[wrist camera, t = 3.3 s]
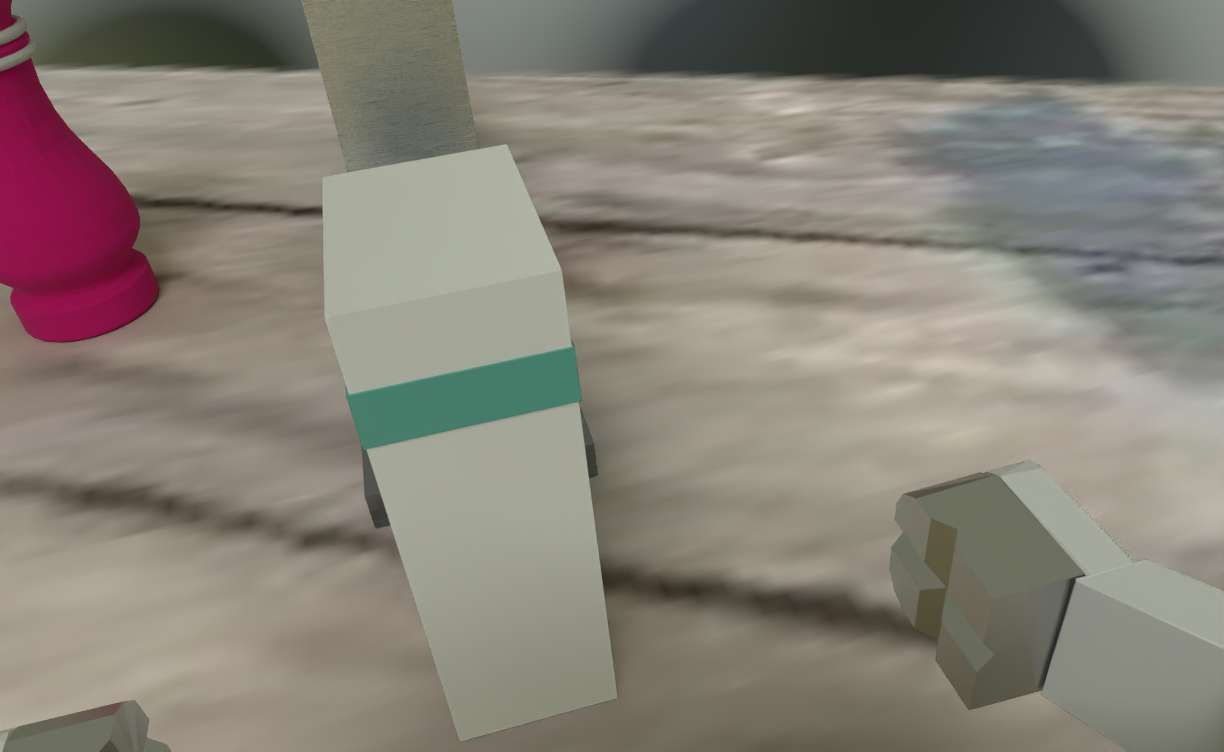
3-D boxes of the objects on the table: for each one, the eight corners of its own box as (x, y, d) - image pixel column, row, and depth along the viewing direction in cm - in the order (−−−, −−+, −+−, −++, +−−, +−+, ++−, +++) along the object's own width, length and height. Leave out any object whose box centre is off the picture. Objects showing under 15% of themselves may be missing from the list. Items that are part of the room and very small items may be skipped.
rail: (597, 475, 34) (544, 41, 24) (375, 527, 32) (229, 92, 23) (501, 213, 51) (448, -100, 42) (354, 241, 50) (266, -75, 40)
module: (619, 699, 26) (564, 271, 18) (458, 743, 26) (321, 320, 17) (569, 535, 31) (508, 142, 23) (434, 568, 31) (319, 176, 22)
